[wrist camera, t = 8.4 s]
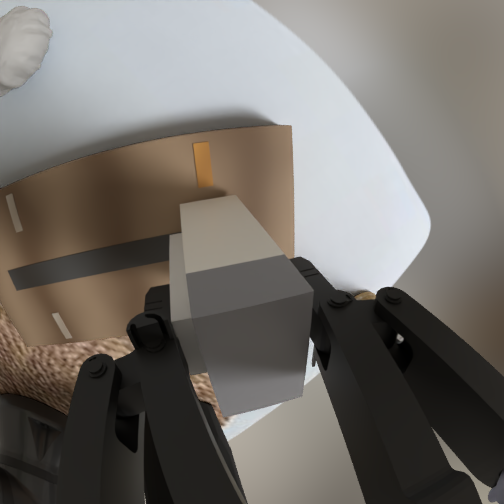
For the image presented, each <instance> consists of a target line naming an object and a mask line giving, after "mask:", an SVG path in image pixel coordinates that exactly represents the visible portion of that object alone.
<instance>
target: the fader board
mask: <svg viewBox="0 0 504 504" xmlns="http://www.w3.org/2000/svg"><path fill="white" fill-rule="evenodd" d="M231 195H236V196H237V197H238V198H239V199H240V201H241V202H242V203H243V204H244V205H245V207H246V208H247V209H248V210H249V211H250V213H251V214H252V215H253V216H254V217H255V219H256V220H257V221H258V222H259V223H260V225H261V226H262V227H263V228H264V229H265V231H266V232H267V233H268V234H269V236H270V237H271V238H272V239H273V240H274V242H275V243H276V244H277V245H278V247H279V248H280V249H281V250H282V251H283V253H284V254H285V255H286V256H287V258H288V259H292V258H294V176H293V146H292V126H290V125H266V126H251V127H239V128H228V129H219V130H211V131H203V132H196V133H189V134H183V135H177V136H171V137H165V138H160V139H155V140H150V141H145V142H140V143H136V144H131V145H127V146H123V147H119V148H115V149H111V150H107V151H103V152H100V153H96V154H92V155H89V156H86V157H82V158H79V159H76V160H73V161H70V162H67V163H64V164H61V165H58V166H55V167H52V168H49V169H47V170H44V171H41V172H39V173H36V174H33V175H31V176H28V177H26V178H23V179H21V180H19V181H16V182H14V183H12V184H9V185H7V186H5V187H3V188H1V189H0V302H1V304H2V306H3V307H4V309H5V311H6V313H7V315H8V316H9V318H10V320H11V321H12V323H13V325H14V326H15V328H16V330H17V331H18V333H19V334H20V336H21V338H22V339H23V341H24V342H25V344H26V345H27V347H30V346H43V345H54V344H65V343H74V342H83V341H91V340H99V339H107V338H114V337H121V336H128V334H127V332H126V328H127V324H128V323H129V321H130V320H131V319H132V318H134V317H135V316H136V315H138V314H140V313H143V312H144V305H145V295H146V294H147V292H148V291H149V289H150V288H151V287H155V286H161V285H166V284H170V271H169V246H170V235H173V234H178V233H182V229H181V216H180V204H184V203H189V202H195V201H201V200H206V199H212V198H219V197H225V196H231Z"/></svg>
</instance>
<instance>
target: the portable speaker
mask: <svg viewBox="0 0 504 504" xmlns="http://www.w3.org/2000/svg"><path fill="white" fill-rule="evenodd" d="M199 403H200V405H201V408H202V410H203V413H204V415H205V417H206V420H207V422H208V425H209V427H210V429H211V432H212V434H213V436H214V439H215V441H216V443H217V445H218V447H219V450H220V452H221V454H222V456H223V458H224V460H225V462H226V464H227V466H228V469H229V471H230V473H231V475H232V477H233V478H234V480H235V482H236V484H237V486H238V488H239V490H240V492H241V494H242V496H243V497H244V499H245V501H246V503H247V500H246V497H245V494H244V491H243V488H242V485H241V481H240V478H239V475H238V472H237V468H236V465H235V462H234V458H233V455H232V451H231V448H230V447H229V444H228V442H227V439H226V437H225V435H224V433H223V430H222V428H221V426H220V423H219V421H218V419H217V416H216V414H215V411H214V409H213V407H212V405H211V404H206V403H203V402H200V401H199ZM144 493H145V499H146V504H174V502H173V499H172V497H171V494H170V491H169V488H168V486H167V483H166V480H165V477H164V474H163V471H162V468H161V465H160V461H159V458H158V455H157V451H156V448H155V444H154V441H153V437H152V433H151V429H150V425H149V421H148V417H147V412H146V411H145V424H144ZM247 504H248V503H247Z"/></svg>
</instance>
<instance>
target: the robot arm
mask: <svg viewBox="0 0 504 504" xmlns="http://www.w3.org/2000/svg"><path fill="white" fill-rule="evenodd" d="M259 224H260V223H259ZM264 230H265V229H264ZM273 241H274V240H273ZM277 246H278V245H277ZM282 252H283V251H282ZM286 257H287V256H286ZM289 260H290V262H291V263H292V264H293V265H294V267H295V268H296V269H297V270H298V272H299V273H300V274H301V275H302V277H303V278H304V279H305V280H306V282H307V283H308V284H309V285H310V287H311V288H312V289H313V290H314V295H313V307H312V318H311V329H310V338H311V340H312V341H313V343H314V350H313V357H312V367H314V366H315V363H316V361H317V364H318V367H319V370H320V372H321V375H322V378H323V380H324V383H325V386H326V389H327V391H328V394H329V397H330V400H331V403H332V405H333V408H334V411H335V414H336V417H337V419H338V422H339V425H340V428H341V431H342V434H343V437H344V439H345V442H346V445H347V448H348V451H349V454H350V457H351V460H352V463H353V466H354V469H355V472H356V475H357V478H358V481H359V484H360V487H361V490H362V493H363V496H364V499H365V502H366V504H482V502H481V499H480V497H479V495H478V492H477V490H476V487H475V485H474V482H473V481H472V479H471V478H470V476H469V475H467V474H466V473H464V472H461V471H456V470H454V469H453V468H451V466H450V465H449V463H448V460H447V458H446V456H445V454H444V452H443V450H442V448H441V446H440V444H439V441H438V439H437V437H436V435H435V433H434V431H433V430H432V428H433V429H434V430H435V431H436V432H437V434H438V435H439V436H440V437H441V438H442V439H443V440H444V442H445V443H446V444H447V445H448V446H449V447H450V449H451V450H452V451H453V452H454V453H455V454H456V456H457V457H458V458H459V459H460V460H461V461H462V462H463V464H464V465H465V466H466V467H467V468H468V470H469V471H470V472H471V473H472V474H473V475H474V476H475V477H476V478H477V479H478V480H480V481H481V482H482V483H484V484H485V485H487V486H489V487H491V488H492V489H491V490H490V492H489V495H488V500H489V501H490V502H495V501H497V502H498V503H499V504H504V377H503V376H502V375H501V374H500V373H499V372H498V371H497V370H496V369H495V368H494V367H493V366H492V365H491V364H490V363H489V362H487V361H486V360H485V359H484V358H483V357H482V356H481V355H480V354H479V353H477V352H476V351H475V350H474V349H473V348H472V347H471V346H470V345H469V344H467V343H466V342H465V341H464V340H463V339H461V338H460V337H459V336H458V335H457V334H456V333H455V332H453V331H452V330H451V329H450V328H449V327H448V326H446V325H445V324H444V323H443V322H441V321H440V320H439V319H438V318H437V317H435V316H434V315H433V314H432V313H430V312H429V311H428V310H427V309H425V308H424V307H423V306H422V305H421V304H419V303H418V302H417V301H415V300H414V299H413V298H411V297H410V296H409V295H408V294H406V293H405V292H404V291H402V290H400V289H397V288H394V287H385V288H381V289H380V290H378V292H377V294H376V297H375V299H370V300H356V299H355V298H354V297H353V296H352V295H351V294H349V293H347V292H345V291H340V290H335V289H334V287H333V286H332V285H331V284H330V283H329V282H328V281H327V280H326V279H325V277H324V276H323V275H322V274H320V272H319V271H318V270H317V269H316V268H315V266H314V265H313V264H312V263H311V262H310V261H308V260H306V259H304V258H302V257H296V258H292V259H289ZM169 271H170V284H166V285H161V286H155V287H151V288H150V289H149V291H148V292H147V294H146V295H145V305H144V312H143V313H140V314H138V315H136V316H135V317H134V318H132V319H131V320H130V321H129V323H128V324H127V328H126V332H127V334H128V336H129V338H130V340H131V342H132V344H133V346H134V348H135V350H134V351H133V352H131V353H130V354H128V355H126V356H124V357H121V358H119V359H116V360H113V358H112V357H111V356H109V355H107V354H96V355H93V356H91V357H89V358H88V359H87V360H86V361H85V362H84V363H83V364H82V366H81V368H80V371H79V374H78V378H77V381H76V385H75V389H74V392H73V396H72V400H71V404H70V409H69V413H68V417H67V416H65V415H64V414H62V413H60V412H58V411H56V410H54V409H52V408H50V407H48V406H46V405H44V404H42V403H39V402H37V401H35V400H32V399H29V398H26V397H23V396H19V395H15V394H3V395H1V396H0V504H145V497H144V424H145V411H146V412H147V417H148V421H149V425H150V429H151V433H152V437H153V441H154V444H155V448H156V451H157V455H158V458H159V461H160V465H161V468H162V471H163V474H164V477H165V480H166V483H167V486H168V488H169V491H170V494H171V497H172V499H173V502H174V504H247V503H246V501H245V499H244V497H243V496H242V494H241V492H240V490H239V488H238V486H237V484H236V482H235V480H234V478H233V477H232V475H231V473H230V471H229V469H228V466H227V464H226V462H225V460H224V458H223V456H222V454H221V452H220V450H219V447H218V445H217V443H216V441H215V439H214V436H213V434H212V432H211V429H210V427H209V425H208V422H207V420H206V417H205V415H204V413H203V410H202V408H201V405H200V403H199V400H198V397H197V395H196V392H195V390H194V387H193V384H192V382H191V380H190V375H189V372H190V374H191V375H196V374H201V373H206V372H207V369H206V366H205V362H204V359H203V356H202V353H201V349H200V346H199V343H198V339H197V336H196V333H195V329H194V326H193V322H192V318H191V311H190V304H189V296H188V288H187V280H186V271H185V261H184V252H183V241H182V233H178V234H173V235H170V246H169ZM398 334H399V335H400V336H402V337H403V338H404V339H403V341H400V340H398V339H397V336H398Z"/></svg>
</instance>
